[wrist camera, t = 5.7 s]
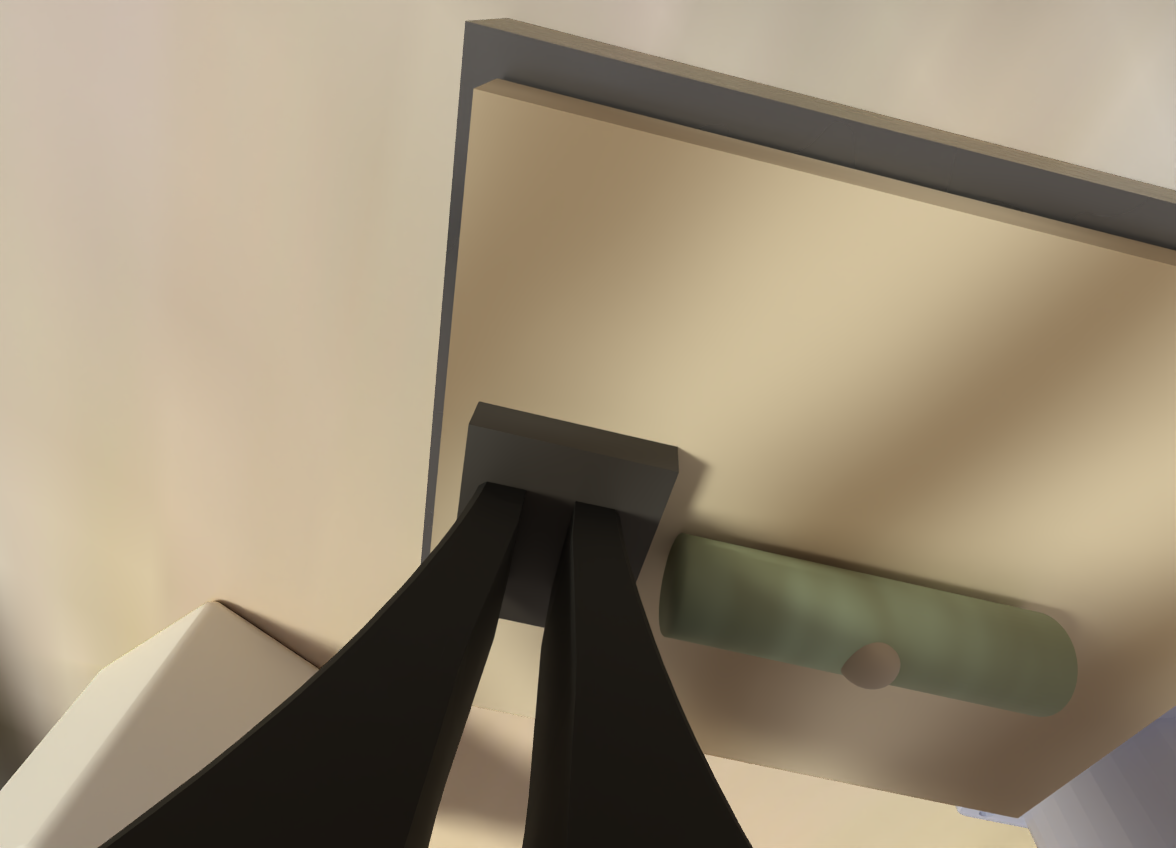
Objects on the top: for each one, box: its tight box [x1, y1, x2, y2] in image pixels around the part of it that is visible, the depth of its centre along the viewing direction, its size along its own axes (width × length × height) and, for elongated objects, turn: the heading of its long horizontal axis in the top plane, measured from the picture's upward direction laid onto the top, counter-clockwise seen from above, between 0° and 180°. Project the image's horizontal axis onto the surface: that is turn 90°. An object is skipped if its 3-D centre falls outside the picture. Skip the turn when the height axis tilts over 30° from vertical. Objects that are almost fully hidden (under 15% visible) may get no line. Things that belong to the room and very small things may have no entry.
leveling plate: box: [430, 78, 1176, 818], centre depth 10 cm, size 14×12×3 cm
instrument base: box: [421, 18, 1176, 564], centre depth 13 cm, size 15×13×3 cm
